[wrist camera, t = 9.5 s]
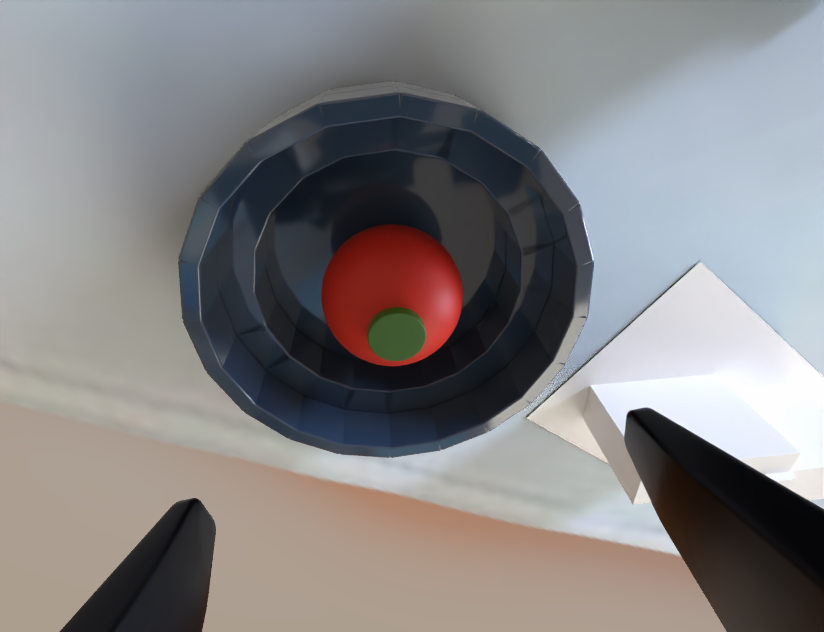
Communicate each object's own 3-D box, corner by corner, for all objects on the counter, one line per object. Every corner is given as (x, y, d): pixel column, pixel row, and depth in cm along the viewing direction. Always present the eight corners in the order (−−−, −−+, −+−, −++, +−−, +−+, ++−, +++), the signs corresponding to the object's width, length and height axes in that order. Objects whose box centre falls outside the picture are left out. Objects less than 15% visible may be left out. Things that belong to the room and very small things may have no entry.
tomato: (464, 216, 17) (498, 277, 13) (435, 325, 20) (455, 406, 15) (333, 194, 16) (322, 250, 12) (320, 310, 19) (307, 392, 14)
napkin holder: (523, 420, 24) (564, 516, 19) (698, 259, 20) (807, 330, 15) (684, 506, 30) (747, 597, 25) (848, 394, 25) (964, 478, 20)
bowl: (596, 124, 16) (666, 150, 12) (492, 396, 23) (518, 467, 19) (217, 40, 14) (161, 39, 10) (222, 370, 21) (190, 444, 17)
